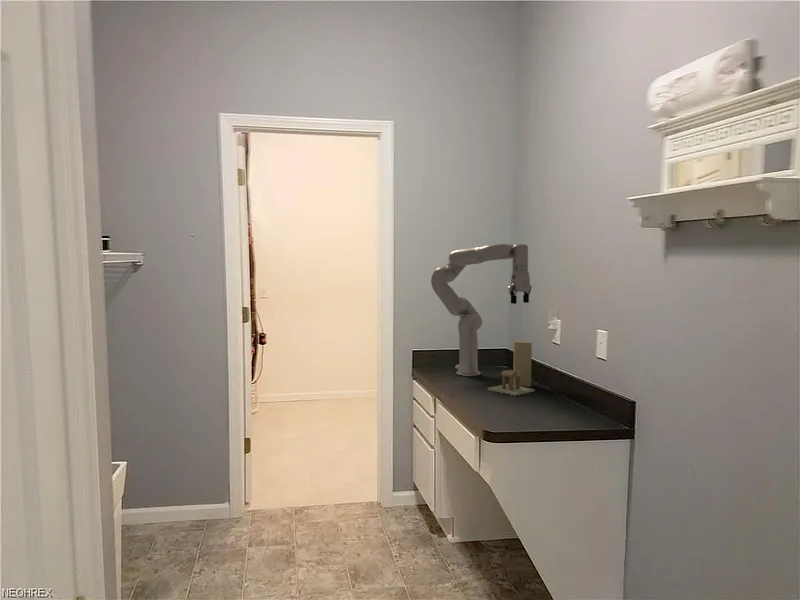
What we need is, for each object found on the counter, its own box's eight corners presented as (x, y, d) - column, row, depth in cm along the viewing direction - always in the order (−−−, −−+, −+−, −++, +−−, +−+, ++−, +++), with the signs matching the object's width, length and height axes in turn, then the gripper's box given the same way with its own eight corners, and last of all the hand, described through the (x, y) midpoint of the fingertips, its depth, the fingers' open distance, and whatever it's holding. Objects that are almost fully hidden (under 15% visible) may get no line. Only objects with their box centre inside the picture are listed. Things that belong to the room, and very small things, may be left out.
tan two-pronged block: (511, 390, 263) (512, 373, 263) (501, 388, 268) (501, 371, 267) (520, 388, 267) (520, 371, 266) (510, 386, 272) (510, 369, 271)
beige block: (529, 383, 283) (529, 340, 282) (531, 386, 276) (531, 342, 274) (512, 383, 284) (513, 340, 282) (514, 386, 277) (514, 342, 275)
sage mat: (487, 390, 269) (487, 388, 269) (507, 385, 278) (507, 383, 278) (514, 396, 257) (514, 393, 257) (534, 391, 266) (534, 389, 266)
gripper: (515, 269, 284) (514, 304, 285) (536, 268, 295) (536, 302, 296) (503, 269, 290) (502, 303, 291) (525, 268, 301) (524, 301, 302)
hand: (519, 303), depth 294 cm, fingers open, 9 cm apart
